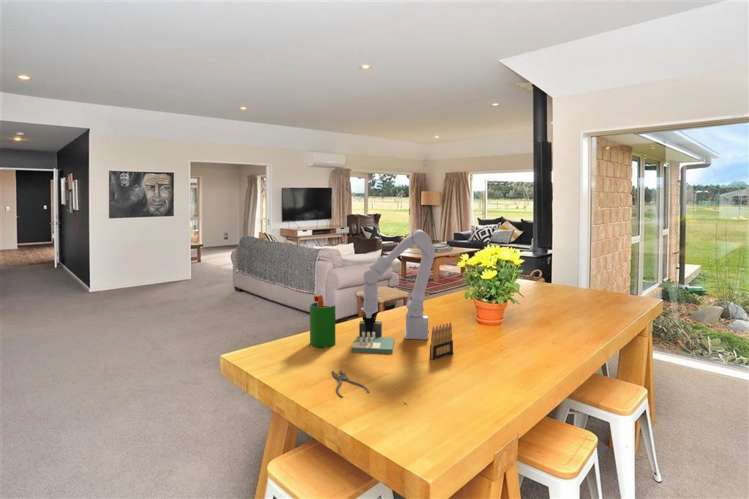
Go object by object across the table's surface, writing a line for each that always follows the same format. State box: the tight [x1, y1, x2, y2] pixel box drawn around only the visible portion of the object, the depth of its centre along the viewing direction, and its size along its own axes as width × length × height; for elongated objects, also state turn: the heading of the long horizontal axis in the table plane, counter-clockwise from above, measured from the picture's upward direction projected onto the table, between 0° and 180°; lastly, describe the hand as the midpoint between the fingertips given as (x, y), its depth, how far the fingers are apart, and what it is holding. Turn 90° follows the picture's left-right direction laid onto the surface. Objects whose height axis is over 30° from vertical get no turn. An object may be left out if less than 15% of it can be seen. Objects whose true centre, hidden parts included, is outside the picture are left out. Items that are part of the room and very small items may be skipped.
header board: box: [351, 332, 395, 354], centre depth 177 cm, size 15×14×4 cm
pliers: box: [331, 369, 370, 399], centre depth 143 cm, size 10×1×20 cm
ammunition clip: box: [429, 321, 454, 361], centre depth 166 cm, size 11×2×12 cm, turn 129°
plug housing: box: [358, 320, 383, 337], centre depth 189 cm, size 9×4×6 cm, turn 85°
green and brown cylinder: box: [309, 294, 336, 348], centre depth 179 cm, size 10×9×20 cm
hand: (370, 330), depth 189 cm, fingers open, 7 cm apart
